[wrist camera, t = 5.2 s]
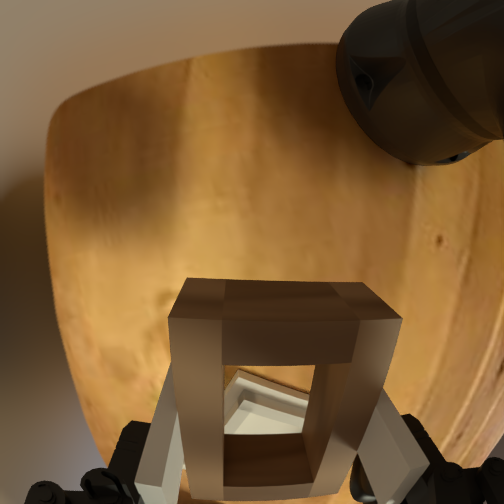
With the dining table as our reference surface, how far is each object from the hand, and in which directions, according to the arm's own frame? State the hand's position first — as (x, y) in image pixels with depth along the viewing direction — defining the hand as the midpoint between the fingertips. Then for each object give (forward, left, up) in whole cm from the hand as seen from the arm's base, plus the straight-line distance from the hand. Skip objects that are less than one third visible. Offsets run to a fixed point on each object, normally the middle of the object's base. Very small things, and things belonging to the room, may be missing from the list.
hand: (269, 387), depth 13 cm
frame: (0, 0, 0) cm, 0 cm away
